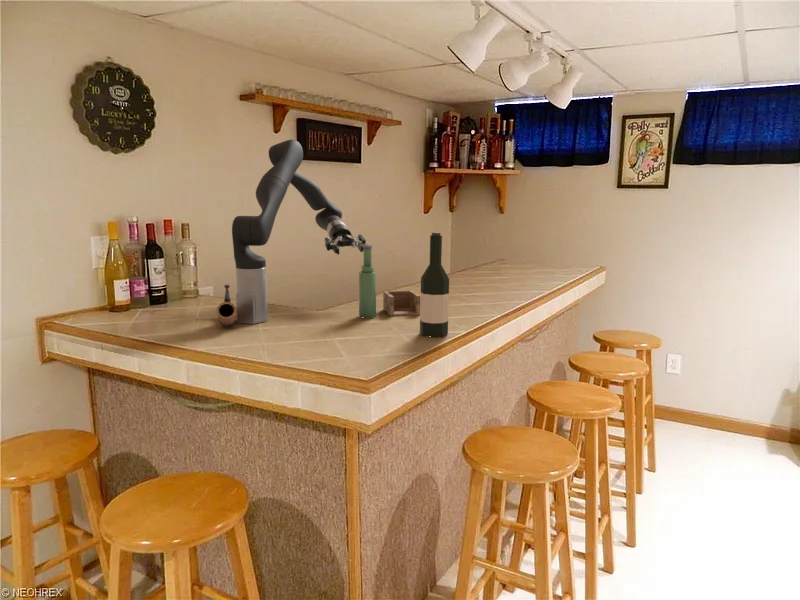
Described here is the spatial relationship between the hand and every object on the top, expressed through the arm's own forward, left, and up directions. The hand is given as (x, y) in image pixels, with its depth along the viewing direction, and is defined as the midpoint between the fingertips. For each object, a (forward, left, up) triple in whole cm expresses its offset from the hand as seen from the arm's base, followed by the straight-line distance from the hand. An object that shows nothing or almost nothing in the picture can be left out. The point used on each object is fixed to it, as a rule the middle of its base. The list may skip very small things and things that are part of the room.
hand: (350, 250), depth 208 cm
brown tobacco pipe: (-34, +29, -21) cm, 49 cm away
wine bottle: (-28, -36, -21) cm, 50 cm away
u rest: (-2, -19, -20) cm, 28 cm away
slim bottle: (-12, -10, -20) cm, 26 cm away
